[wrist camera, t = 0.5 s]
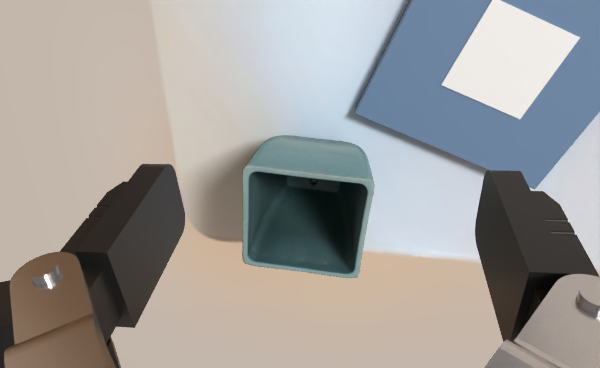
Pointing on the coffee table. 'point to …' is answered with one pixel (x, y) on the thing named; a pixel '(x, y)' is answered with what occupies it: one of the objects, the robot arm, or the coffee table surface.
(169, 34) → the coffee table surface
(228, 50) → the coffee table surface
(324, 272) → the flower pot
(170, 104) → the coffee table surface
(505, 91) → the board
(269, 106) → the coffee table surface
